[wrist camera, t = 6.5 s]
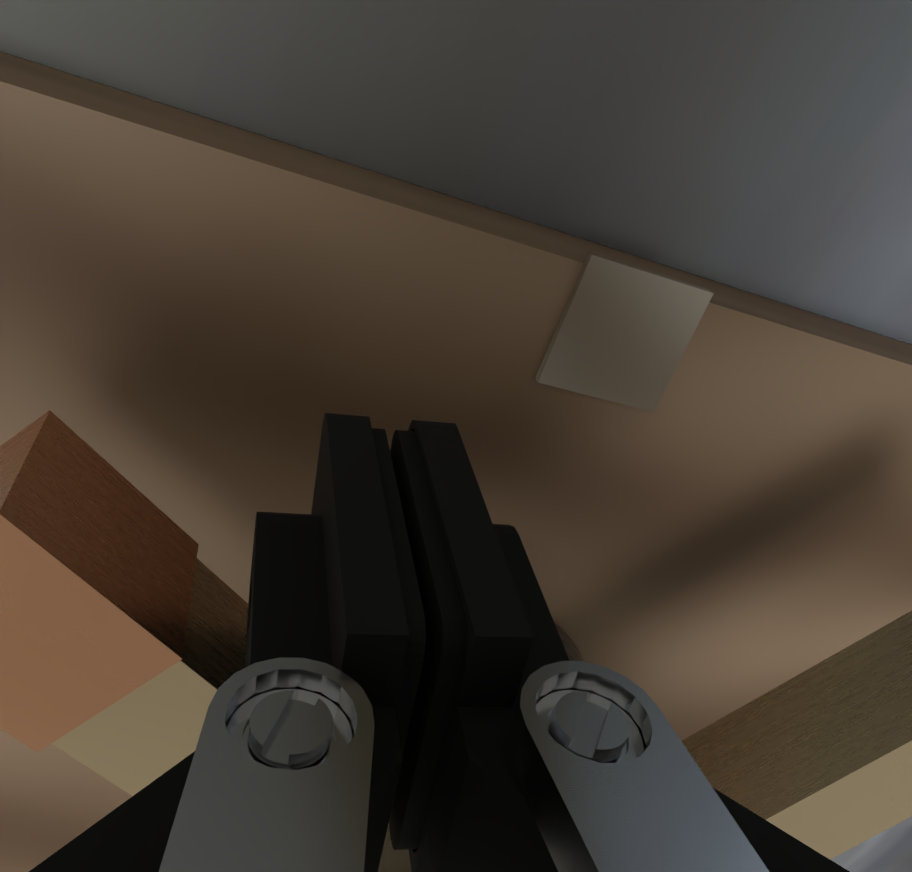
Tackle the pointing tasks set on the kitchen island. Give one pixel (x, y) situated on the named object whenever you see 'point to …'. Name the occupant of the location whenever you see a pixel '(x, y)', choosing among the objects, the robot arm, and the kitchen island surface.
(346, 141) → the kitchen island surface
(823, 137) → the kitchen island surface
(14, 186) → the wooden cutting board
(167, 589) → the capstan
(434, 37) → the kitchen island surface
